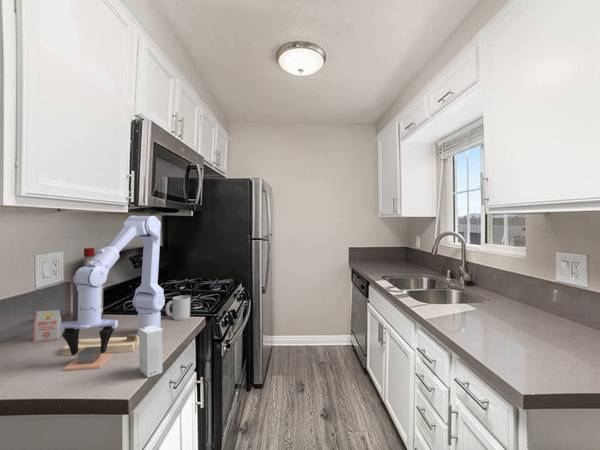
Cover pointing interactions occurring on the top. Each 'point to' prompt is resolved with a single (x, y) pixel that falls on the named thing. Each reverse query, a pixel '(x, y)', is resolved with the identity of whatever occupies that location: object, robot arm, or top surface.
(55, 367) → the top surface
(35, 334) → the white red printed carton
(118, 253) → the robot arm
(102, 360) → the terracotta tile
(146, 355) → the skincare box
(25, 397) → the top surface
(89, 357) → the gray rectangular block
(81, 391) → the top surface
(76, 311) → the liquor
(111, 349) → the hand plane
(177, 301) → the cup
